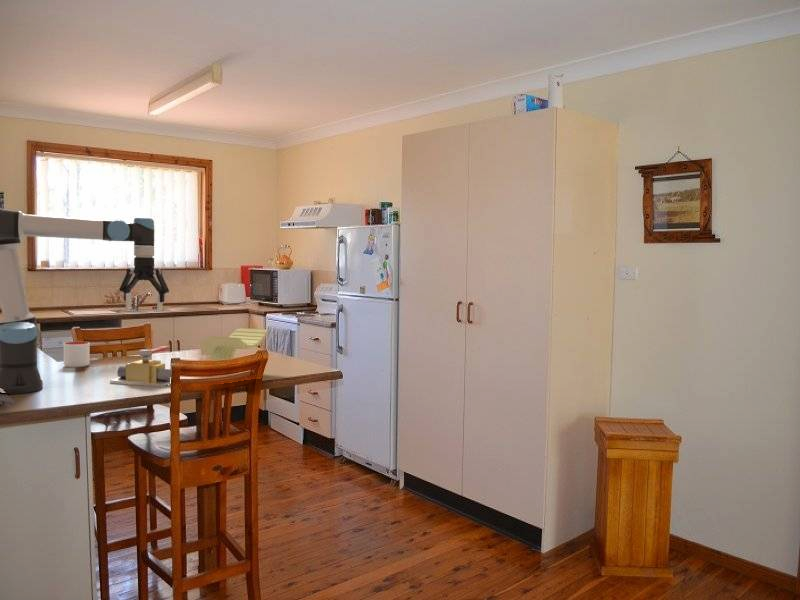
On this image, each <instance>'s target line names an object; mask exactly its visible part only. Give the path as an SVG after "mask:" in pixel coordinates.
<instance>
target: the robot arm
mask: <svg viewBox="0 0 800 600" xmlns="http://www.w3.org/2000/svg"><path fill="white" fill-rule="evenodd" d="M24 237H39V238H41V237H42V238H58V239H59V238H60V239H80V240H98V241H100V240H102V241H106V242H107V241H108V242H133V243H134V244H133V256H135V257H133V266H134V269H133V268H131V267H130V268H127V269H126V273H125V276H124V278H123V280H122V282H121V284H120V287H119V291H120V292H122V293H123V301H125V310H132V292H131V291H132V289H134V287H135V285H137V283H138V282H139V281H143V280H144V281H149V282H150V283H151V284H152V286H153V287H154V289H155V290H156V291H157V294H156V298H157V299H156V303H157V304H156V311H157V312H160V311H163V307H164V306H163V303H165V295H166V294H168V293H169V292H170V289H169V287H168V285H167V283H166V281H165V278H164V276H163V272H162V268H161V269H160V268H159V269H155V258H154V256H155V221H154V219H153V218H148V217H135V218H133V222H129V221H128V222H126V221H124V220H122V219H115V220H114V219H100V218H88V217H87V218H86V217H85V218H84V217H71V216H69V217H68V216H55V215H54V216H53V215H41V214H38V215H37V214H27V213H26V214H25V213H23V211H21V210H10V209H5V208H1V207H0V308H1V313H2V317H1V319H0V388H2V389H4V391H5V392H6V393H7V394H6V395H15V394H25V393H32V392H38V391H40V390H43V387H44V383H43V379H42V378H41V375H40V371H39V369H38V347H39V344H40V342H41V338H42V337H41V332H40V330H39V328H38V323H37V319H36V315H35V314H33V313H31V311H30V307H29V303H28V302H29V301H28V298H27V292H26V288H25V283H24V277H23V273H22V267H21V263H20V257H19V253H18V251H19V250H18V248H19V247H20V246H21V244H22V243H21V239H22V238H24ZM133 274H134V276H133ZM132 276H133V277H132ZM155 276H156V277H155Z"/></svg>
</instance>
